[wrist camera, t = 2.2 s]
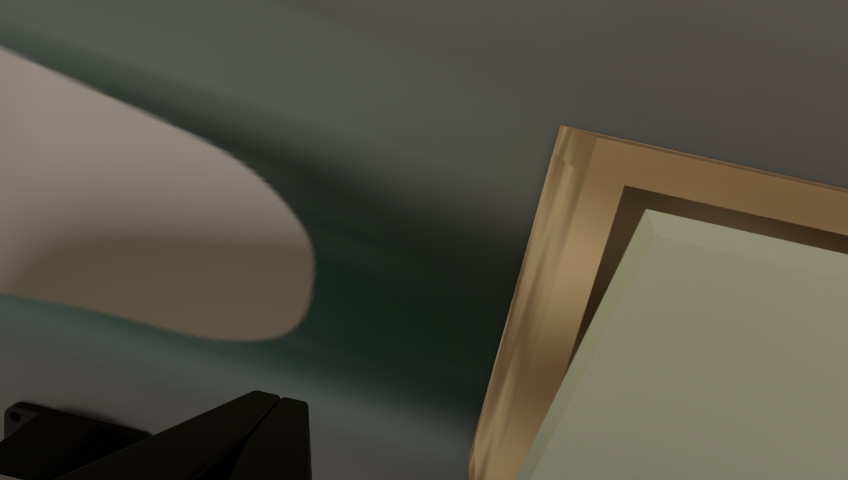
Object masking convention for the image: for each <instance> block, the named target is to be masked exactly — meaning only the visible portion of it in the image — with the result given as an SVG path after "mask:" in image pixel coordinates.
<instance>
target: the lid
mask: <svg viewBox="0 0 848 480" xmlns="http://www.w3.org/2000/svg"><path fill="white" fill-rule="evenodd" d="M515 480H848V255H847V254H843V253H838V252H834V251H830V250H825V249H821V248H816V247H812V246H808V245H803V244H799V243H794V242H790V241H785V240H781V239H777V238H772V237H768V236H763V235H759V234H755V233H750V232H746V231H741V230H737V229H732V228H728V227H724V226H719V225H715V224H710V223H706V222H702V221H697V220H693V219H688V218H684V217H680V216H675V215H671V214H666V213H662V212H657V211H653V210H649V209H646V210H645V212H644V214H643V216H642V218H641V220H640V222H639V224H638V226H637V229H636V231H635V233H634V235H633V237H632V239H631V241H630V243H629V245H628V247H627V249H626V251H625V253H624V255H623V258H622V260H621V262H620V264H619V266H618V268H617V270H616V272H615V274H614V276H613V278H612V280H611V282H610V284H609V286H608V289H607V291H606V293H605V295H604V297H603V299H602V301H601V303H600V305H599V307H598V309H597V311H596V313H595V315H594V317H593V320H592V322H591V324H590V326H589V328H588V330H587V332H586V334H585V336H584V338H583V340H582V342H581V344H580V346H579V348H578V351H577V353H576V355H575V357H574V359H573V361H572V363H571V365H570V367H569V369H568V371H567V373H566V375H565V377H564V380H563V382H562V384H561V386H560V388H559V390H558V392H557V394H556V396H555V398H554V400H553V402H552V404H551V406H550V408H549V411H548V413H547V415H546V417H545V419H544V421H543V423H542V425H541V427H540V429H539V431H538V433H537V435H536V437H535V439H534V442H533V444H532V446H531V448H530V450H529V452H528V454H527V456H526V458H525V460H524V462H523V464H522V466H521V468H520V470H519V473H518V475H517V477H516V479H515Z"/></svg>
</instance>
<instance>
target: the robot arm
mask: <svg viewBox="0 0 848 480" xmlns="http://www.w3.org/2000/svg"><path fill="white" fill-rule="evenodd" d="M135 442H137V443H135ZM0 480H312V469H311V450H310V431H309V412H308V404H307V403H306V402H304V401H299V400H295V399H291V398H287V397H284V398H281V399H280V397H279V396H278V395H274V394H270V393H266V392H262V391H257V390H256V391H252V392H250V393H247V394H245V395H243V396H241V397H238V398H236V399H234V400H232V401H229V402H227V403H225V404H223V405H220V406H218V407H216V408H214V409H212V410H209V411H207V412H205V413H203V414H200V415H198V416H196V417H194V418H191V419H189V420H187V421H185V422H182V423H180V424H178V425H176V426H173V427H171V428H169V429H167V430H164V431H162V432H160V433H158V434H155V435H153V436H151V437H149V436H148V435H147V434H145V433H144V432H141V431H137V430H133V429H129V428H125V427H121V426H117V425H113V424H109V423H105V422H101V421H97V420H93V419H88V418H84V417H80V416H76V415H72V414H68V413H64V412H60V411H56V410H52V409H48V408H44V407H40V406H35V405H31V404H27V403H23V402H17V403H15V404H13V405H12V406H10V407H9V408H7V410H6V411H5V414H4V439H3V440H2V441H1V442H0Z"/></svg>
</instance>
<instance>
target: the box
mask: <svg viewBox="0 0 848 480" xmlns="http://www.w3.org/2000/svg"><path fill="white" fill-rule="evenodd" d="M646 209H649V210H653V211H657V212H662V213H666V214H671V215H675V216H680V217H684V218H688V219H693V220H697V221H702V222H706V223H710V224H715V225H719V226H724V227H728V228H732V229H737V230H741V231H746V232H750V233H755V234H759V235H763V236H768V237H772V238H777V239H781V240H785V241H790V242H794V243H799V244H803V245H808V246H812V247H816V248H821V249H825V250H830V251H834V252H838V253H843V254H847V255H848V189H845V188H841V187H836V186H832V185H827V184H823V183H818V182H814V181H809V180H805V179H800V178H796V177H792V176H787V175H783V174H778V173H774V172H769V171H765V170H760V169H756V168H751V167H747V166H742V165H738V164H733V163H729V162H724V161H720V160H715V159H711V158H706V157H702V156H697V155H693V154H688V153H684V152H679V151H675V150H670V149H666V148H662V147H657V146H653V145H648V144H644V143H639V142H635V141H630V140H626V139H621V138H617V137H612V136H608V135H603V134H599V133H594V132H590V131H585V130H581V129H576V128H572V127H567V126H563V125H560V129H559V133H558V136H557V140H556V143H555V147H554V151H553V154H552V158H551V162H550V165H549V169H548V172H547V176H546V180H545V183H544V187H543V190H542V194H541V198H540V201H539V205H538V208H537V212H536V216H535V219H534V223H533V227H532V230H531V234H530V237H529V241H528V245H527V248H526V252H525V255H524V259H523V263H522V266H521V270H520V274H519V277H518V281H517V284H516V288H515V292H514V295H513V299H512V302H511V306H510V310H509V313H508V317H507V321H506V324H505V328H504V331H503V335H502V339H501V342H500V346H499V349H498V353H497V357H496V360H495V364H494V368H493V371H492V375H491V378H490V382H489V386H488V389H487V393H486V396H485V400H484V404H483V407H482V411H481V415H480V418H479V422H478V425H477V429H476V433H475V436H474V440H473V443H472V447H471V451H470V454H469V480H515V479H516V477H517V475H518V473H519V470H520V468H521V466H522V464H523V462H524V460H525V458H526V456H527V454H528V452H529V450H530V448H531V446H532V444H533V442H534V439H535V437H536V435H537V433H538V431H539V429H540V427H541V425H542V423H543V421H544V419H545V417H546V415H547V413H548V411H549V408H550V406H551V404H552V402H553V400H554V398H555V396H556V394H557V392H558V390H559V388H560V386H561V384H562V382H563V380H564V377H565V375H566V373H567V371H568V369H569V367H570V365H571V363H572V361H573V359H574V357H575V355H576V353H577V351H578V348H579V346H580V344H581V342H582V340H583V338H584V336H585V334H586V332H587V330H588V328H589V326H590V324H591V322H592V320H593V317H594V315H595V313H596V311H597V309H598V307H599V305H600V303H601V301H602V299H603V297H604V295H605V293H606V291H607V289H608V286H609V284H610V282H611V280H612V278H613V276H614V274H615V272H616V270H617V268H618V266H619V264H620V262H621V260H622V258H623V255H624V253H625V251H626V249H627V247H628V245H629V243H630V241H631V239H632V237H633V235H634V233H635V231H636V229H637V226H638V224H639V222H640V220H641V218H642V216H643V214H644V212H645V210H646Z"/></svg>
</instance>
